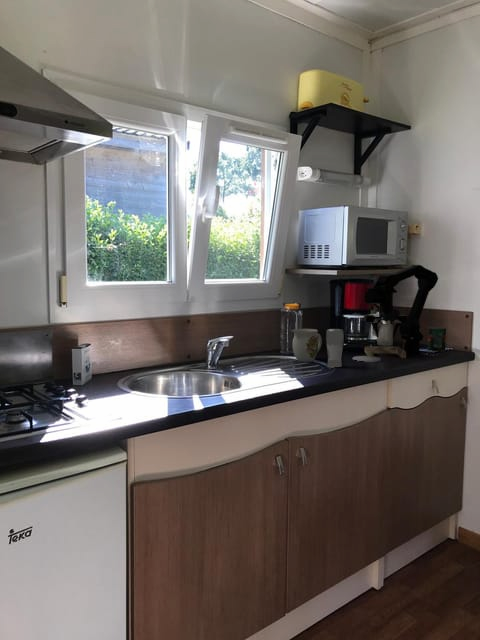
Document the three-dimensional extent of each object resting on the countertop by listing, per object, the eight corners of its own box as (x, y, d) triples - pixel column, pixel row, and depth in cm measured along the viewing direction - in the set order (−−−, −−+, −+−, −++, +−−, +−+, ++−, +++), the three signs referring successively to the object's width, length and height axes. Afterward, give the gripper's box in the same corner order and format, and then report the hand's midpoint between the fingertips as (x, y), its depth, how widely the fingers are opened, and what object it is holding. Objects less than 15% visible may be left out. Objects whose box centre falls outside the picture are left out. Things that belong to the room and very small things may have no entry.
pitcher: (330, 359, 239) (330, 328, 237) (301, 364, 227) (302, 331, 226) (311, 356, 247) (311, 325, 245) (282, 361, 235) (283, 329, 234)
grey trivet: (377, 357, 244) (377, 356, 244) (383, 362, 232) (383, 360, 232) (350, 357, 244) (350, 355, 244) (355, 362, 232) (355, 360, 232)
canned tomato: (424, 349, 265) (425, 326, 264) (439, 348, 267) (439, 326, 266) (434, 352, 258) (435, 328, 256) (448, 351, 259) (449, 328, 258)
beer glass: (336, 364, 227) (336, 328, 226) (346, 367, 221) (347, 330, 220) (322, 365, 224) (322, 329, 223) (332, 368, 218) (333, 331, 216)
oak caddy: (397, 353, 255) (398, 346, 255) (405, 358, 241) (406, 351, 240) (364, 352, 255) (364, 346, 255) (370, 358, 241) (370, 351, 241)
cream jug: (376, 343, 250) (376, 323, 249) (390, 343, 250) (391, 323, 249) (380, 346, 241) (380, 326, 240) (395, 346, 241) (396, 326, 240)
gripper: (368, 304, 237) (367, 340, 239) (412, 304, 237) (411, 340, 238) (363, 302, 248) (362, 336, 250) (405, 302, 248) (404, 336, 249)
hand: (385, 337), depth 247 cm, fingers closed on cream jug, 7 cm apart
